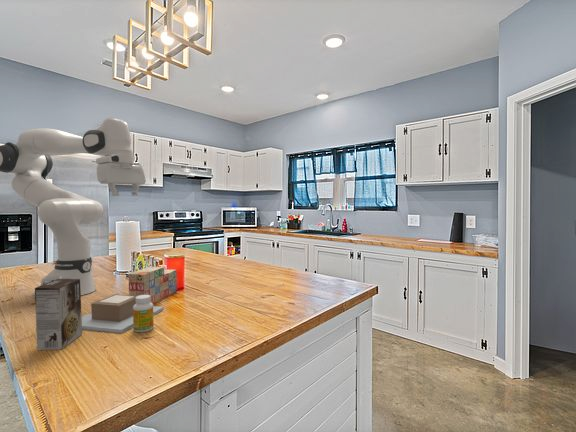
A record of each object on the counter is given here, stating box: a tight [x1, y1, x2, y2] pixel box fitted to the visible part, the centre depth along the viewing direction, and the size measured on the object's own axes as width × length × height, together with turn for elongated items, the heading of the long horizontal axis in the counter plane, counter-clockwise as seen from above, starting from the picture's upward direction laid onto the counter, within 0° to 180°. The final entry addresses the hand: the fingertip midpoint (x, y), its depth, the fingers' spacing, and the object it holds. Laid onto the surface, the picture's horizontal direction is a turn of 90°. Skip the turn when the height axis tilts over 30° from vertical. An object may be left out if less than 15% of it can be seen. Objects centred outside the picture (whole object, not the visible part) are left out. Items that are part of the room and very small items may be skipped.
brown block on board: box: [81, 294, 165, 334], centre depth 100 cm, size 20×20×6 cm
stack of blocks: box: [128, 266, 178, 304], centre depth 121 cm, size 21×6×12 cm, turn 168°
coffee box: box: [34, 279, 83, 351], centre depth 83 cm, size 9×6×16 cm
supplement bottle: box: [132, 295, 154, 333], centre depth 92 cm, size 5×5×10 cm
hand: (125, 195), depth 122 cm, fingers open, 8 cm apart
